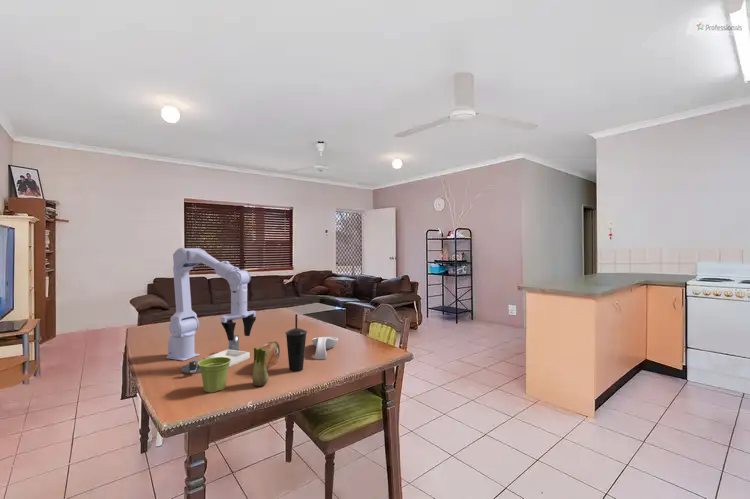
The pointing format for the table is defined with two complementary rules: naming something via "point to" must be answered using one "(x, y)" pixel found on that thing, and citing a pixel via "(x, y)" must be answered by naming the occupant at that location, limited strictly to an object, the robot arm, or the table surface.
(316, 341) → the spoon rest
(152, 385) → the table surface
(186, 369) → the crank base
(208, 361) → the plant pot
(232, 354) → the tray
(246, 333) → the robot arm
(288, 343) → the drinking cup
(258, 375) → the fennel bulb
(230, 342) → the cylinder
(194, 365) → the crank
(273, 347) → the tin
